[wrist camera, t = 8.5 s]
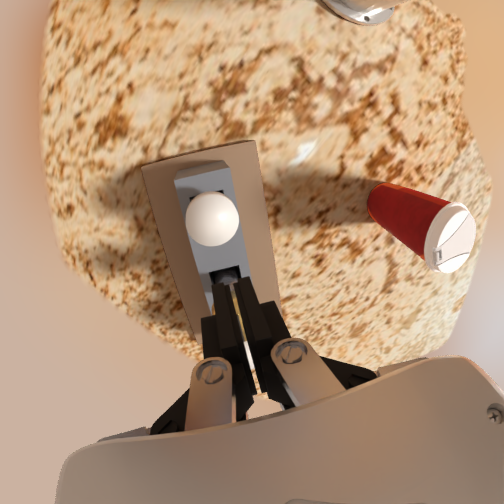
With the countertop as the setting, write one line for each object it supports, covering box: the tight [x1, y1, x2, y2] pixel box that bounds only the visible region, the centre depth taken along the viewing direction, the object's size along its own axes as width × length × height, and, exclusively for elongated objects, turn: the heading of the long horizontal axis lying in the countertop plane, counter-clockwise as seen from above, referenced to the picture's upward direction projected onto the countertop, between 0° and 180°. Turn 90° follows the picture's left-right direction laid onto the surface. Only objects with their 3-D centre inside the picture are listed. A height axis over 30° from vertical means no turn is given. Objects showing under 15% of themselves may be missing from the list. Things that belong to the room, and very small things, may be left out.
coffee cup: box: [367, 183, 476, 273], centre depth 31 cm, size 8×8×15 cm
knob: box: [186, 191, 239, 246], centre depth 28 cm, size 4×4×9 cm
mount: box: [141, 140, 283, 345], centre depth 33 cm, size 26×13×7 cm, turn 10°
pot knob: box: [212, 266, 247, 342], centre depth 28 cm, size 4×4×10 cm
